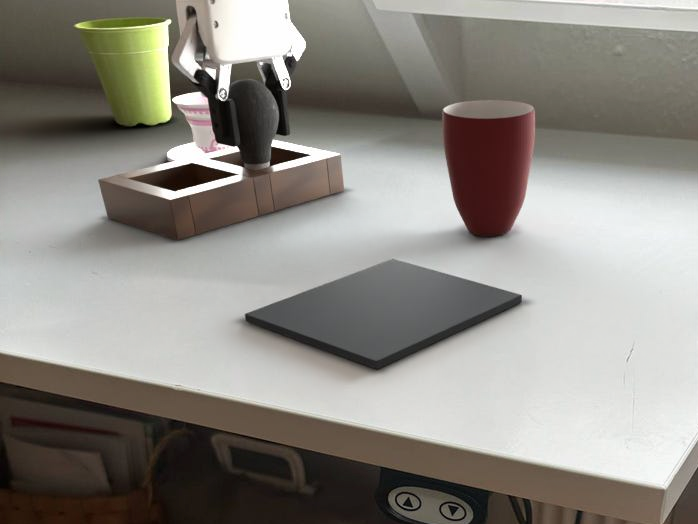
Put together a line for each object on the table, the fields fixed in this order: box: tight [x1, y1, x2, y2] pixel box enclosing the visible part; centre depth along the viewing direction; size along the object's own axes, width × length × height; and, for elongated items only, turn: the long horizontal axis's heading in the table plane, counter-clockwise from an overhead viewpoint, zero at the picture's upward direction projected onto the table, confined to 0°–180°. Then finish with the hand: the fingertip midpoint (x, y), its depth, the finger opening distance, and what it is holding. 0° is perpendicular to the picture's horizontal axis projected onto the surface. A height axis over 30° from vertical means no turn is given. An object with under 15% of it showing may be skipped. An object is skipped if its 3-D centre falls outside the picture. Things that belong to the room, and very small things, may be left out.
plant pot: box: [73, 16, 172, 127], centre depth 122 cm, size 12×12×11 cm
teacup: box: [166, 91, 232, 162], centre depth 109 cm, size 12×12×6 cm
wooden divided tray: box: [98, 139, 345, 241], centre depth 94 cm, size 21×12×4 cm, turn 140°
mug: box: [441, 99, 536, 237], centre depth 85 cm, size 10×8×10 cm
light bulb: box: [228, 78, 279, 170], centre depth 94 cm, size 6×6×10 cm
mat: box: [244, 258, 523, 370], centre depth 72 cm, size 16×14×1 cm
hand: (253, 137), depth 94 cm, fingers closed on light bulb, 5 cm apart
